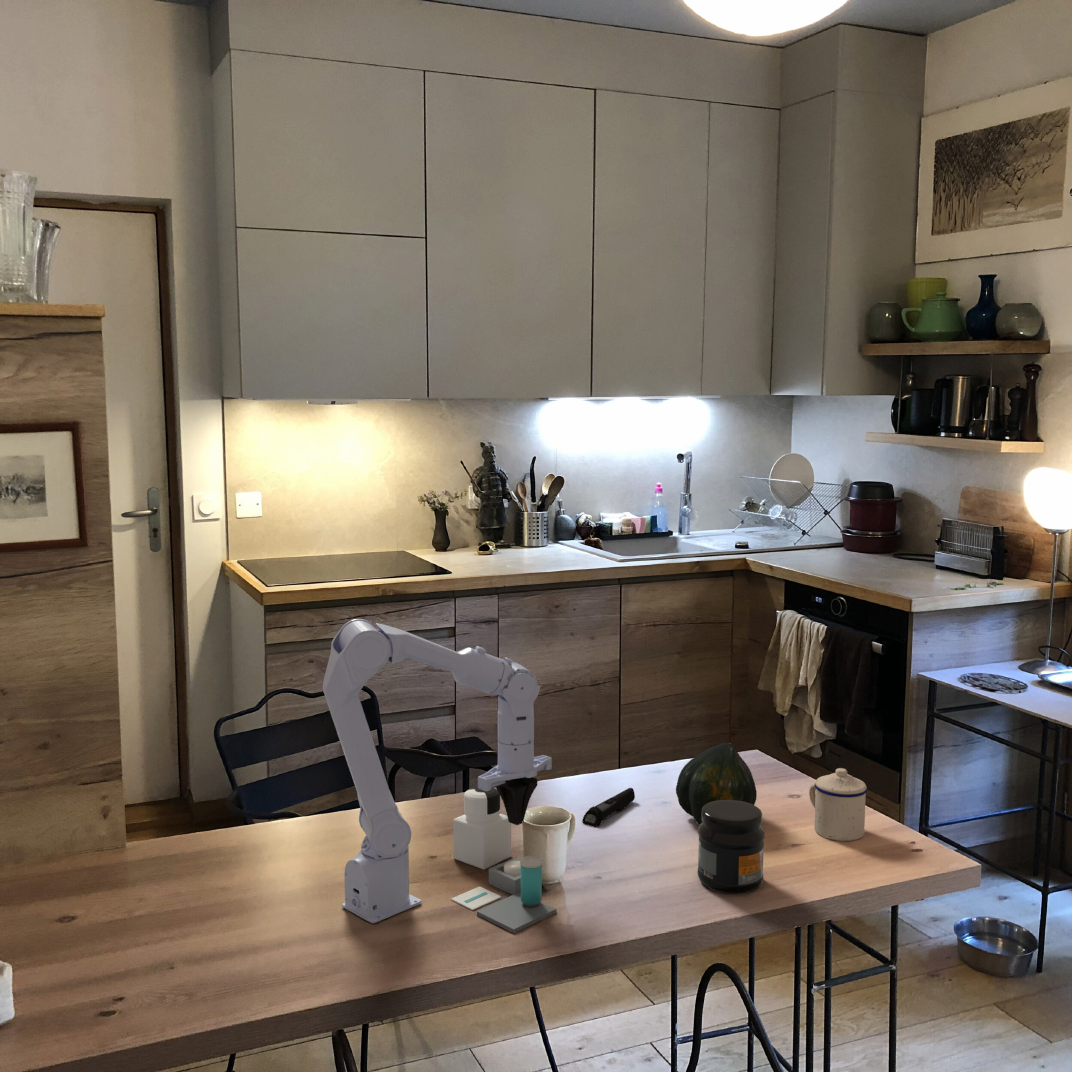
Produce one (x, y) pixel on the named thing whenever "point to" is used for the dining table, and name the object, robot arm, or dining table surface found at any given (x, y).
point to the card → (475, 898)
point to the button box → (504, 879)
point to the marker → (531, 880)
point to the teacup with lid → (839, 806)
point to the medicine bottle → (482, 830)
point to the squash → (714, 780)
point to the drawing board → (515, 913)
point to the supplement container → (731, 846)
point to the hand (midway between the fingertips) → (515, 822)
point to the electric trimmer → (608, 808)
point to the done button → (512, 868)
